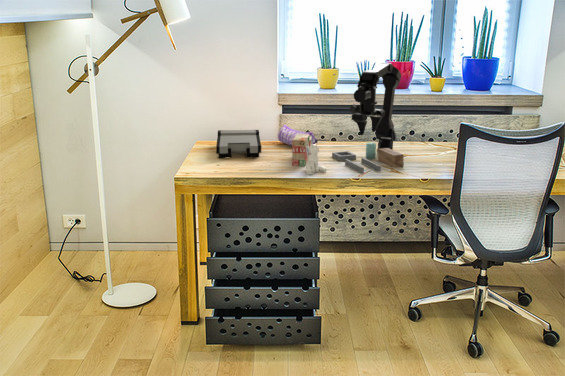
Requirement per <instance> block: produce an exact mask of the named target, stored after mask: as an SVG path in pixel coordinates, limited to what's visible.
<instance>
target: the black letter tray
mask: <svg viewBox="0 0 565 376" xmlns="http://www.w3.org/2000/svg"><path fill="white" fill-rule="evenodd" d="M216 140H217V141H216V145H215V149H216V155H217V154H218V156H217V157H218V159H226V158H225V157H231V158H232V154H246V155H245V156H246V157H249V158H260V154H262V142H261V136H260V130H259V129H226V130H224V129H223V130H217V139H216Z"/></svg>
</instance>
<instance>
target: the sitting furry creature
mask: <svg viewBox="0 0 565 376" xmlns="http://www.w3.org/2000/svg"><path fill="white" fill-rule="evenodd" d="M306 147H307V149H309V153H310V155H309V156H308V161H307V163H306V166H305V174H306V175H311V174H315V173H316V174H317V173H324V174H326V173H327V168H325V166H322V165H320V164H319V156H318V154H319V152H320V149H319V148H320V145H319V146H318V144H316V143H315V144H312V145H310V147H309V146H306Z"/></svg>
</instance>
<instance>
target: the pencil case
mask: <svg viewBox="0 0 565 376" xmlns="http://www.w3.org/2000/svg"><path fill="white" fill-rule="evenodd" d="M313 132H314V131H313ZM313 132H312V131H305V132H304V131H300V130H296V129H293V128H291V127H289V126H288V125H287V124H286V125H285V124H283V125H282V127H281V128H280V129H278V132H277V139H278V141H279V142H280V143H282V144H285V145H289V146H291V147H292V139H293V138H294V137H295V136H296V134H310V137H312V144H315V145H316V144H318V139H316V137H315V135H314V134H313Z"/></svg>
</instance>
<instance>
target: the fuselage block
mask: <svg viewBox="0 0 565 376" xmlns="http://www.w3.org/2000/svg"><path fill="white" fill-rule="evenodd" d="M377 150H378V151H377V162H379V163H381V164H383V165H385V166H387V167H390V168H392V169H400V168H403V167H404V154H403V153H400V152H398V151H396V150H394V149H393V150H392V149H389V148H381V149H378V148H377Z"/></svg>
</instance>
